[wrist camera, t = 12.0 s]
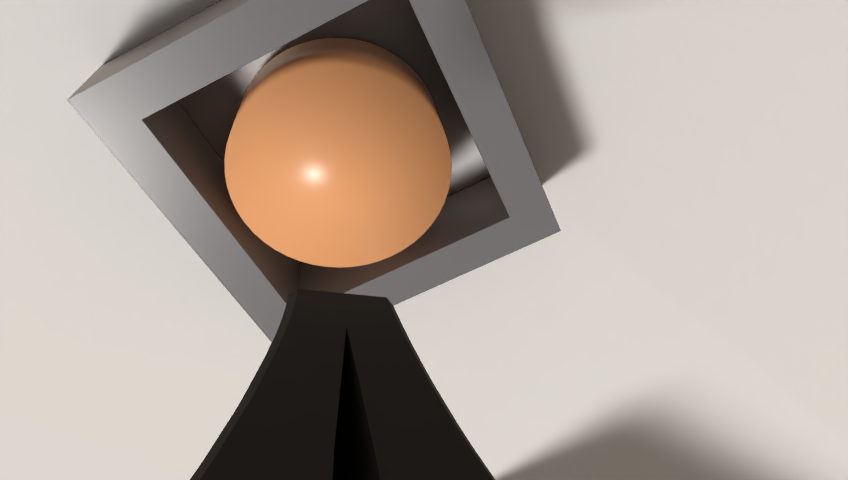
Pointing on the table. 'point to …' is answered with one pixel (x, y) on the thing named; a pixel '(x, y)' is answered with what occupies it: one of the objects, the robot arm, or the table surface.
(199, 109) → the table surface
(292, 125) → the button
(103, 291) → the table surface
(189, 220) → the button frame
